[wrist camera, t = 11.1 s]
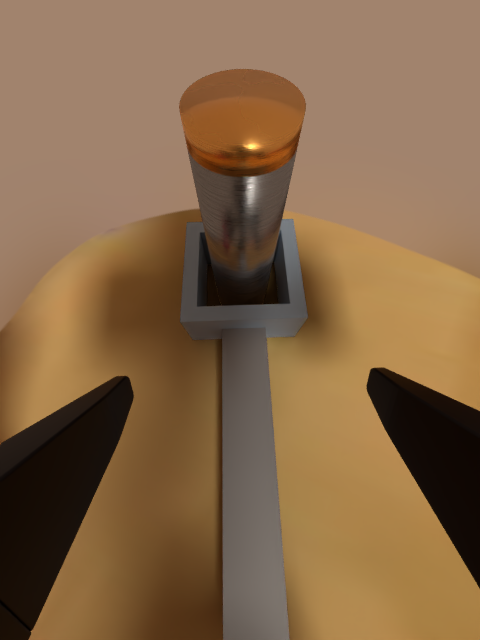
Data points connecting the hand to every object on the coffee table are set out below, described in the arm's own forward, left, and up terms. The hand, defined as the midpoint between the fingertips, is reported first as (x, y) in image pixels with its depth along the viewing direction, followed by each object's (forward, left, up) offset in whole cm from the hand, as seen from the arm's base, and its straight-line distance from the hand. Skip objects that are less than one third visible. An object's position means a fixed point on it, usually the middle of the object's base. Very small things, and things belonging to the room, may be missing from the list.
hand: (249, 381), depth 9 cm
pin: (+4, +7, -8) cm, 12 cm away
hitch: (0, 0, -8) cm, 8 cm away
